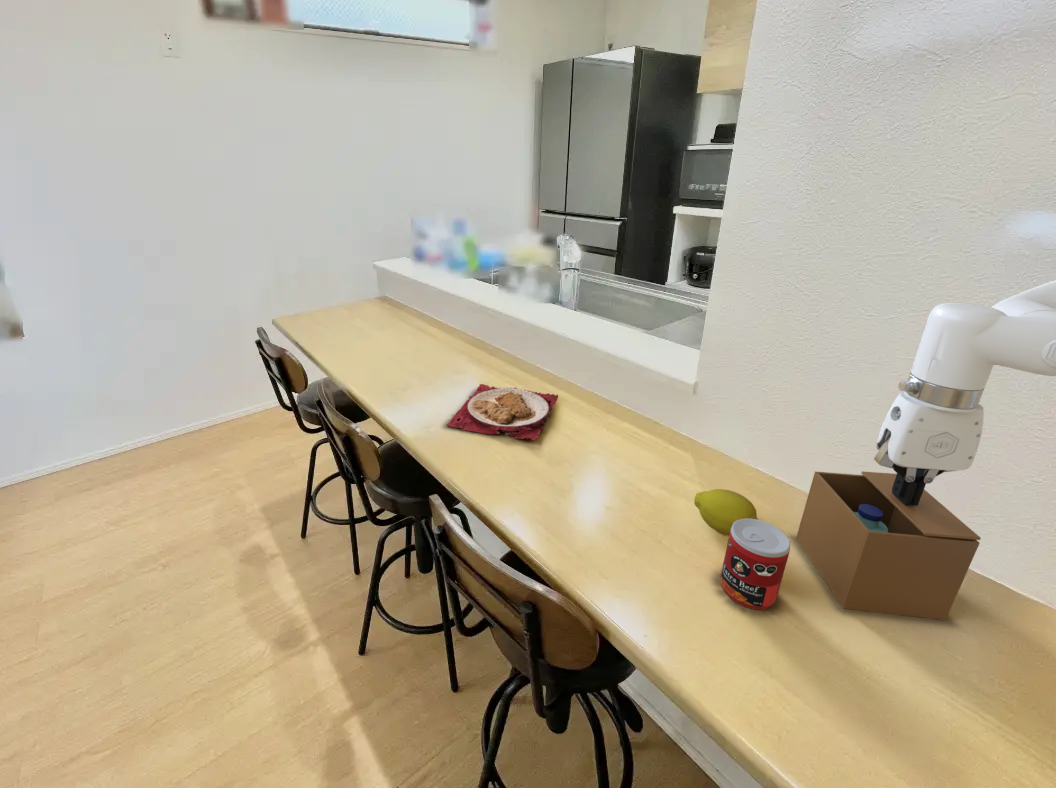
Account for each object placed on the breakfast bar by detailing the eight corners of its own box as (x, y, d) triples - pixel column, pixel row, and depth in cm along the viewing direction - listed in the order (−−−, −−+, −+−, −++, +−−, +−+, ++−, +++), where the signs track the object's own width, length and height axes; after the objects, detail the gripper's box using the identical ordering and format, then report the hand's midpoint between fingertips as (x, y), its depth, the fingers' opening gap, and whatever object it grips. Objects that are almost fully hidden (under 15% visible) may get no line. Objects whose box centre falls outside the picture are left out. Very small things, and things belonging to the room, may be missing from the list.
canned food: (708, 583, 80) (720, 528, 76) (739, 564, 83) (752, 511, 79) (754, 619, 73) (770, 561, 70) (786, 598, 77) (802, 541, 73)
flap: (906, 476, 82) (907, 474, 81) (980, 540, 68) (981, 537, 68) (861, 473, 83) (861, 471, 82) (924, 535, 69) (925, 533, 69)
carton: (881, 547, 87) (905, 478, 82) (945, 620, 73) (980, 542, 68) (795, 538, 89) (814, 471, 84) (842, 608, 75) (868, 532, 70)
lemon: (762, 535, 90) (771, 498, 87) (746, 556, 85) (755, 519, 82) (702, 506, 97) (709, 471, 95) (684, 524, 92) (690, 488, 90)
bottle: (859, 560, 83) (880, 499, 79) (882, 589, 78) (906, 525, 73) (820, 556, 84) (839, 496, 80) (840, 584, 79) (861, 521, 74)
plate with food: (558, 401, 141) (559, 390, 140) (536, 444, 118) (536, 431, 117) (480, 388, 150) (480, 378, 148) (445, 426, 127) (445, 414, 126)
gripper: (900, 400, 67) (864, 511, 73) (1028, 406, 64) (980, 520, 71) (866, 377, 74) (836, 480, 80) (980, 382, 71) (940, 488, 78)
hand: (904, 499), depth 75 cm, fingers closed
